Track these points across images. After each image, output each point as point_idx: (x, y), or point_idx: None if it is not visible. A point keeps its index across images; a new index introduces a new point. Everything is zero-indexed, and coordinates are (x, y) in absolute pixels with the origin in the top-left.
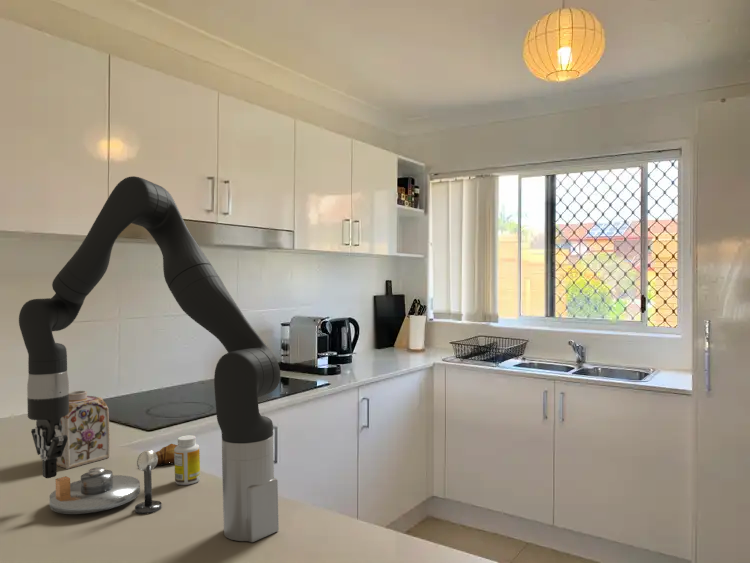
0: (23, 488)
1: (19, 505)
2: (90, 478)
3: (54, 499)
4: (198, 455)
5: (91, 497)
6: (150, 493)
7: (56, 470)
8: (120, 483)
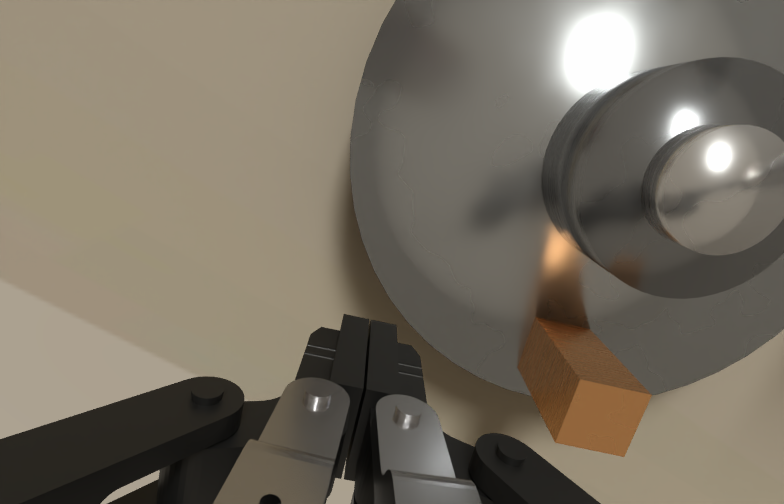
0: None
1: (219, 334)
2: (724, 270)
3: (517, 375)
4: None
5: None
6: None
7: (396, 339)
8: (710, 10)
